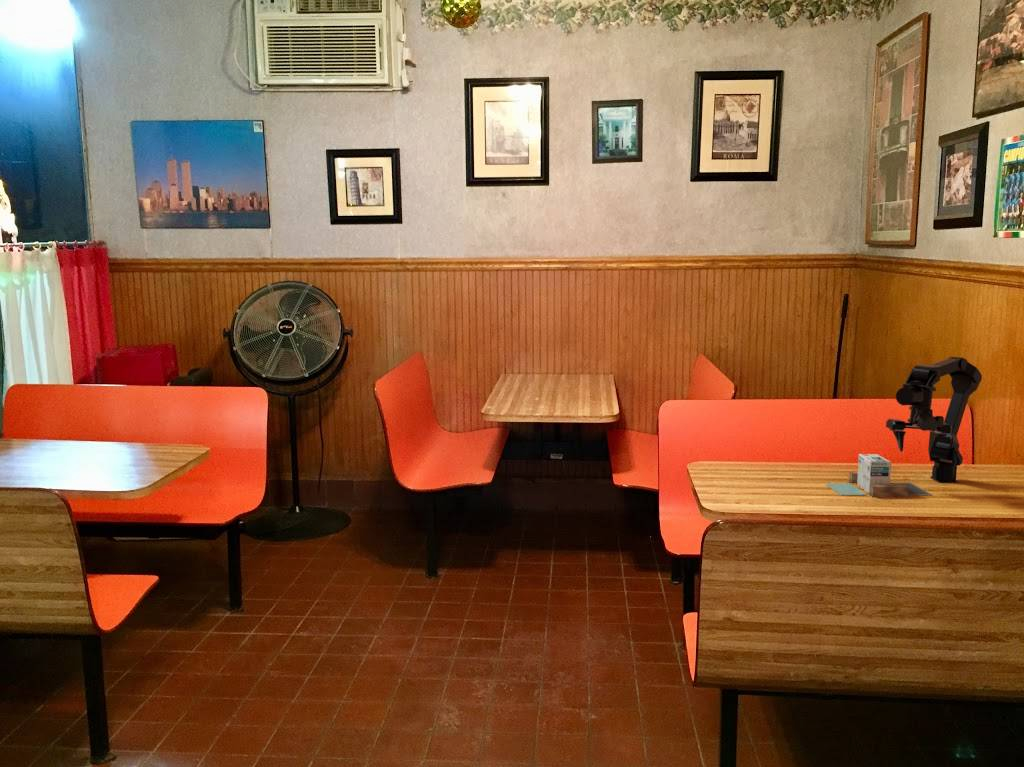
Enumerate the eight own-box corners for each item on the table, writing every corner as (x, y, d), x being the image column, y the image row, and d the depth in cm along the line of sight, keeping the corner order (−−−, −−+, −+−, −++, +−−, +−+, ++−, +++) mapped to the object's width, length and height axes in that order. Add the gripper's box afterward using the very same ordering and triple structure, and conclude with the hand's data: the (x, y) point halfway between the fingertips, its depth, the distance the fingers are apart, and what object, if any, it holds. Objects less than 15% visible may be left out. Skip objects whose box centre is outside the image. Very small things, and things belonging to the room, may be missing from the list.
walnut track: (881, 481, 284) (882, 471, 283) (907, 497, 266) (908, 486, 266) (848, 482, 283) (849, 472, 283) (872, 497, 266) (873, 486, 265)
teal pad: (849, 484, 281) (849, 483, 281) (866, 495, 268) (866, 494, 268) (825, 484, 281) (825, 483, 281) (841, 495, 268) (841, 494, 268)
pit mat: (910, 483, 282) (910, 482, 282) (932, 495, 268) (932, 494, 268) (886, 483, 282) (887, 482, 282) (907, 495, 268) (907, 494, 268)
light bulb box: (890, 494, 269) (892, 461, 268) (868, 494, 270) (870, 461, 268) (876, 485, 280) (878, 453, 278) (855, 485, 280) (857, 453, 278)
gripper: (902, 406, 264) (896, 455, 266) (963, 410, 263) (956, 459, 265) (888, 401, 275) (882, 448, 277) (946, 405, 275) (940, 452, 276)
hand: (915, 452), depth 273 cm, fingers open, 9 cm apart
